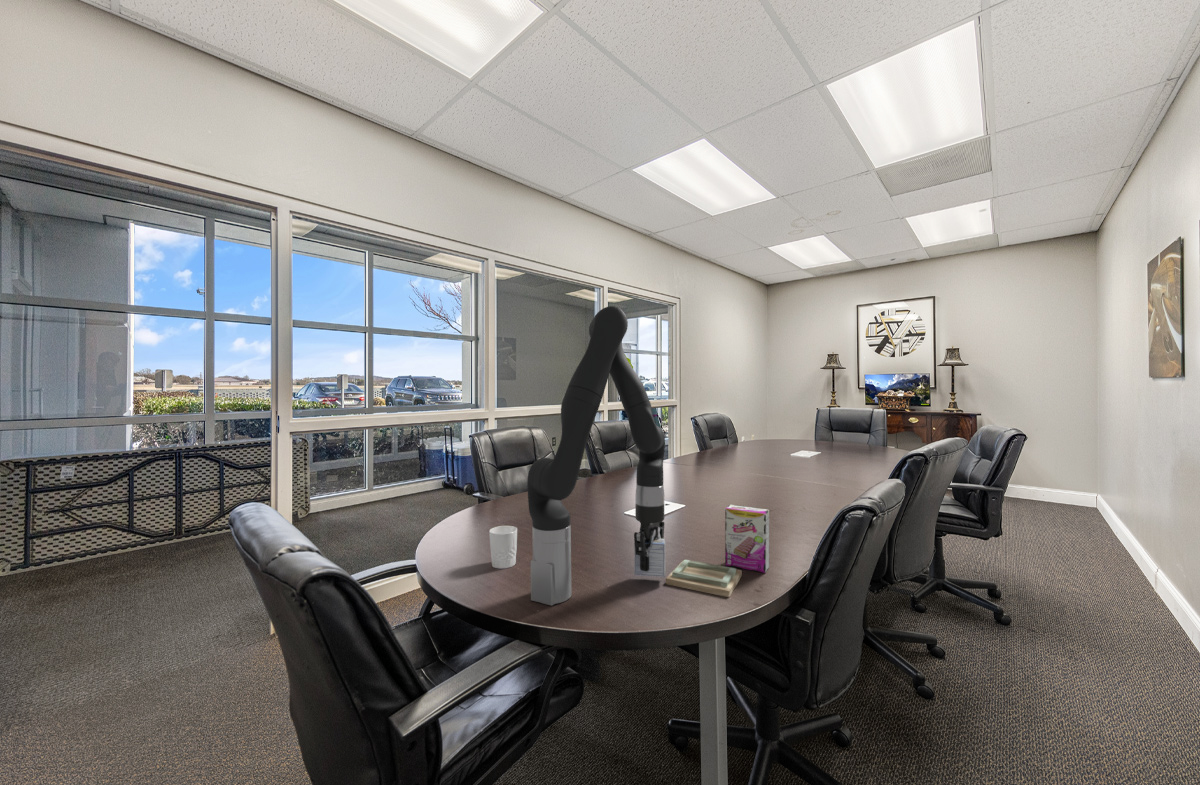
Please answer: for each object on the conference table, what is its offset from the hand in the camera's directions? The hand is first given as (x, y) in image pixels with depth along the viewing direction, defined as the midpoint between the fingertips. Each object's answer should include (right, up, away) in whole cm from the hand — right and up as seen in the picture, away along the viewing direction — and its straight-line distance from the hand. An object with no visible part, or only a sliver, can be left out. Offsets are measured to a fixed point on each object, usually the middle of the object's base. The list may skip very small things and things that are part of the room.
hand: (649, 566), depth 119 cm
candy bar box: (+28, -4, +8) cm, 30 cm away
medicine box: (0, -2, 0) cm, 2 cm away
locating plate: (+14, -4, 0) cm, 15 cm away
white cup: (-41, -4, +12) cm, 43 cm away
